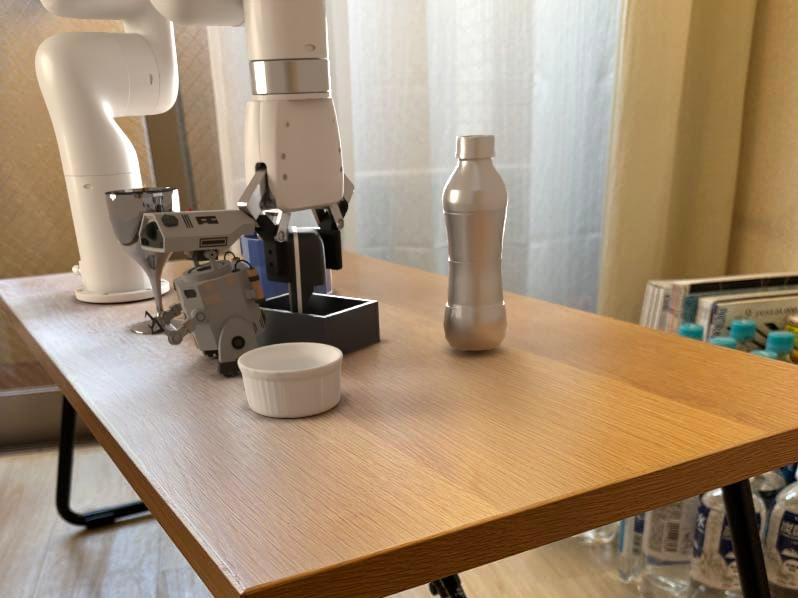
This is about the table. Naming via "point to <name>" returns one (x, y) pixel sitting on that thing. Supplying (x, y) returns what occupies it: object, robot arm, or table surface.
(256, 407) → the ramekin
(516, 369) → the table surface
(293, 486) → the table surface
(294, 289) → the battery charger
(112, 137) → the robot arm
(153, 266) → the wine glass
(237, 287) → the figurine
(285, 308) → the bin
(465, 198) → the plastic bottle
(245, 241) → the cup
